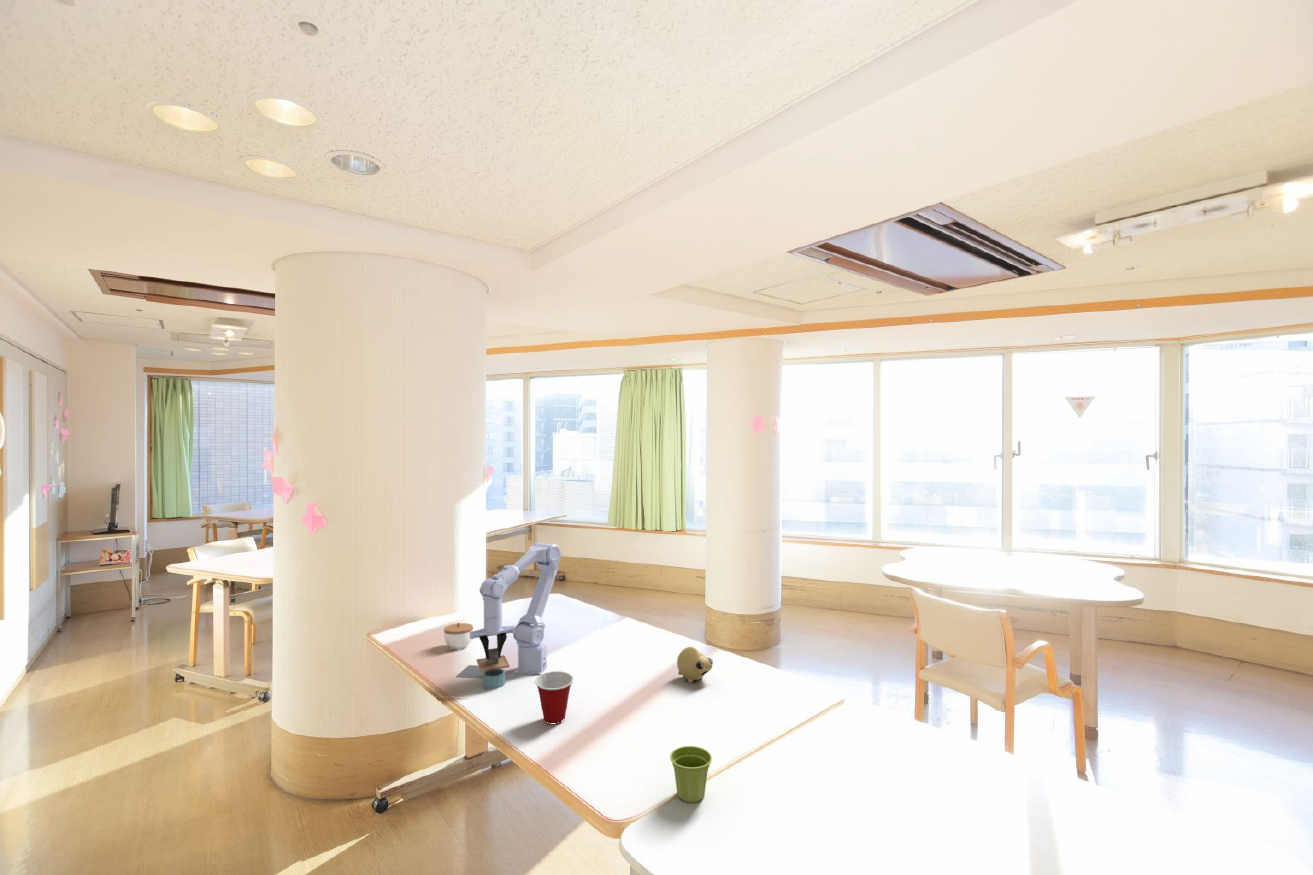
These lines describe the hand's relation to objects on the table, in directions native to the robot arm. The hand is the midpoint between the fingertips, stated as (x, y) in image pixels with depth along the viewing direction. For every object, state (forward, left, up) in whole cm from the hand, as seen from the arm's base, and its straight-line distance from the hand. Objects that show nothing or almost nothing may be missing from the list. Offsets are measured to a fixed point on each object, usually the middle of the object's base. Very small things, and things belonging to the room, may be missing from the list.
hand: (493, 657), depth 197 cm
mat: (+10, -10, -9) cm, 16 cm away
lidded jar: (+28, -34, -9) cm, 45 cm away
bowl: (0, 0, -9) cm, 9 cm away
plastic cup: (-27, +22, -9) cm, 37 cm away
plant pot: (-68, +54, -9) cm, 88 cm away
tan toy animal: (-65, -11, -9) cm, 67 cm away
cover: (0, 0, -2) cm, 2 cm away
